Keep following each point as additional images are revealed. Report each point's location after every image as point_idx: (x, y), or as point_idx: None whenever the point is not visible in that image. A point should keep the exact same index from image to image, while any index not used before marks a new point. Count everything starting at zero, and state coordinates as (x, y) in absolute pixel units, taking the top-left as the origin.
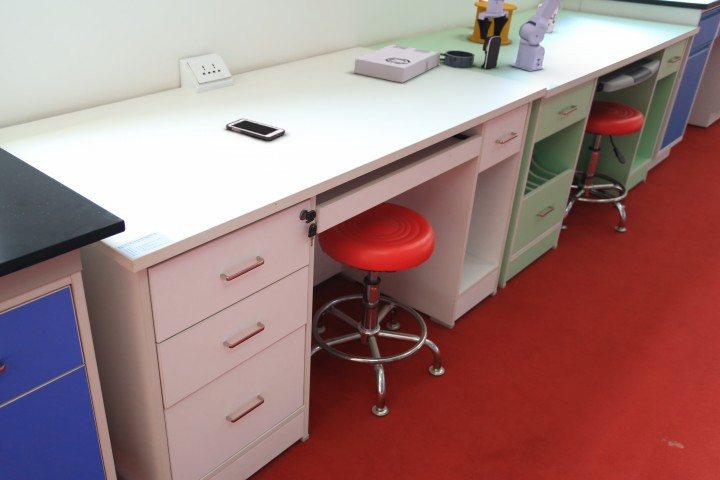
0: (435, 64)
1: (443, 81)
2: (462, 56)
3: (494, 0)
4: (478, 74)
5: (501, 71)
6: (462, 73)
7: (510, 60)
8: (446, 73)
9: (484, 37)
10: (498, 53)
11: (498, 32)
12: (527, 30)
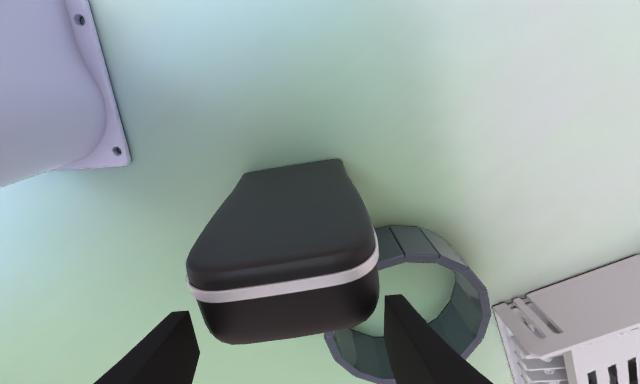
0: (546, 295)
1: None
2: (338, 333)
3: None
4: (475, 98)
5: (285, 88)
6: (533, 153)
7: (45, 247)
8: (603, 187)
9: (412, 313)
10: (230, 200)
11: (163, 361)
12: None
